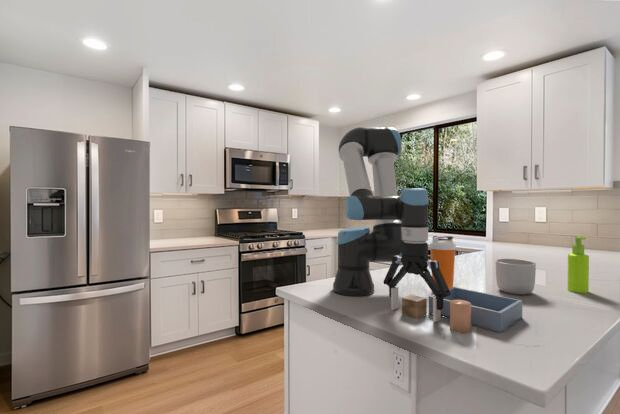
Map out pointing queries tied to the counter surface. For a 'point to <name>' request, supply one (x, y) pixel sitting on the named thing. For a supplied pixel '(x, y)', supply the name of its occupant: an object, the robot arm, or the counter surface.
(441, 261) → the shaker bottle
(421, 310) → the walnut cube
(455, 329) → the peach capsule pill
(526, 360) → the counter surface
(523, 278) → the planter
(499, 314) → the tote
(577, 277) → the soap dispenser
